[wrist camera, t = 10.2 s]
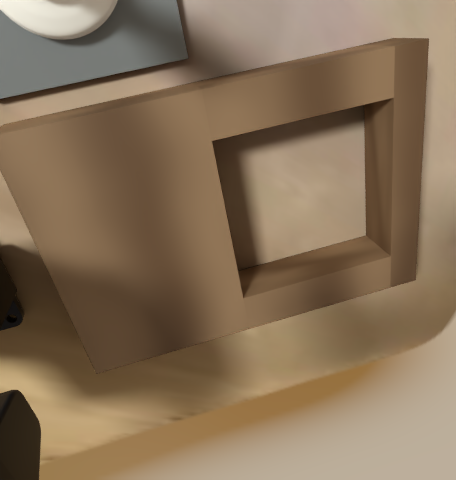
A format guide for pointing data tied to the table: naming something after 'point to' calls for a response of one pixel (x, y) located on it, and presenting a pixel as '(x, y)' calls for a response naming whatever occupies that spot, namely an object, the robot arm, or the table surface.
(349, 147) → the table surface
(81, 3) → the chess piece
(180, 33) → the rubber mat
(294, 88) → the brown slab with hole
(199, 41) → the table surface
